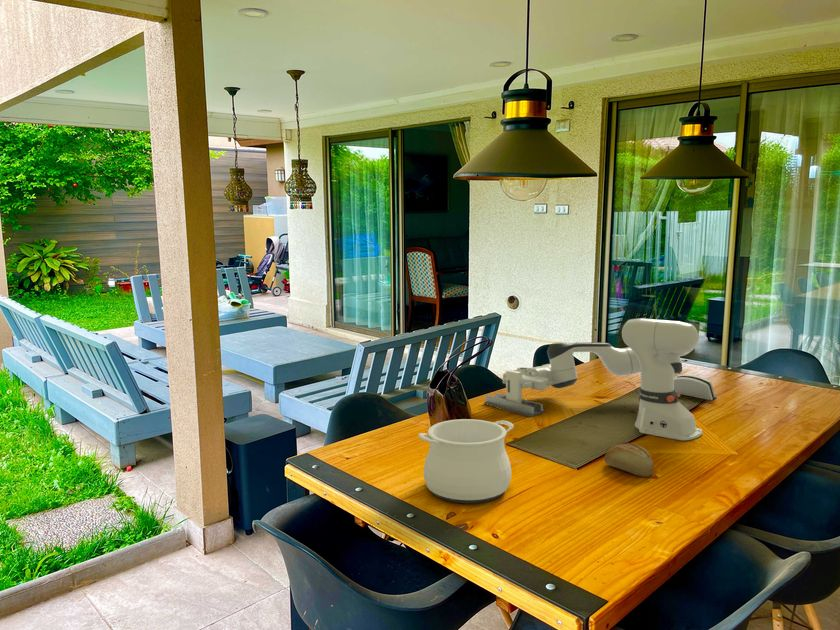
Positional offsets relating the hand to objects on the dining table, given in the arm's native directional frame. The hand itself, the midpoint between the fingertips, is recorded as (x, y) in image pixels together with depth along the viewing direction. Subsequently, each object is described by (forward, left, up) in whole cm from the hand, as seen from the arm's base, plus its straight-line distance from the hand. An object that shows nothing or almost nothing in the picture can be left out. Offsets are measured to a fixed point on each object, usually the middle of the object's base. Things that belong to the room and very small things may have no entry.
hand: (512, 384), depth 256 cm
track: (0, 0, -10) cm, 10 cm away
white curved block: (-40, -68, -10) cm, 80 cm away
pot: (-43, +68, -10) cm, 82 cm away
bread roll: (-66, +24, -10) cm, 71 cm away
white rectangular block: (0, 0, -9) cm, 9 cm away
